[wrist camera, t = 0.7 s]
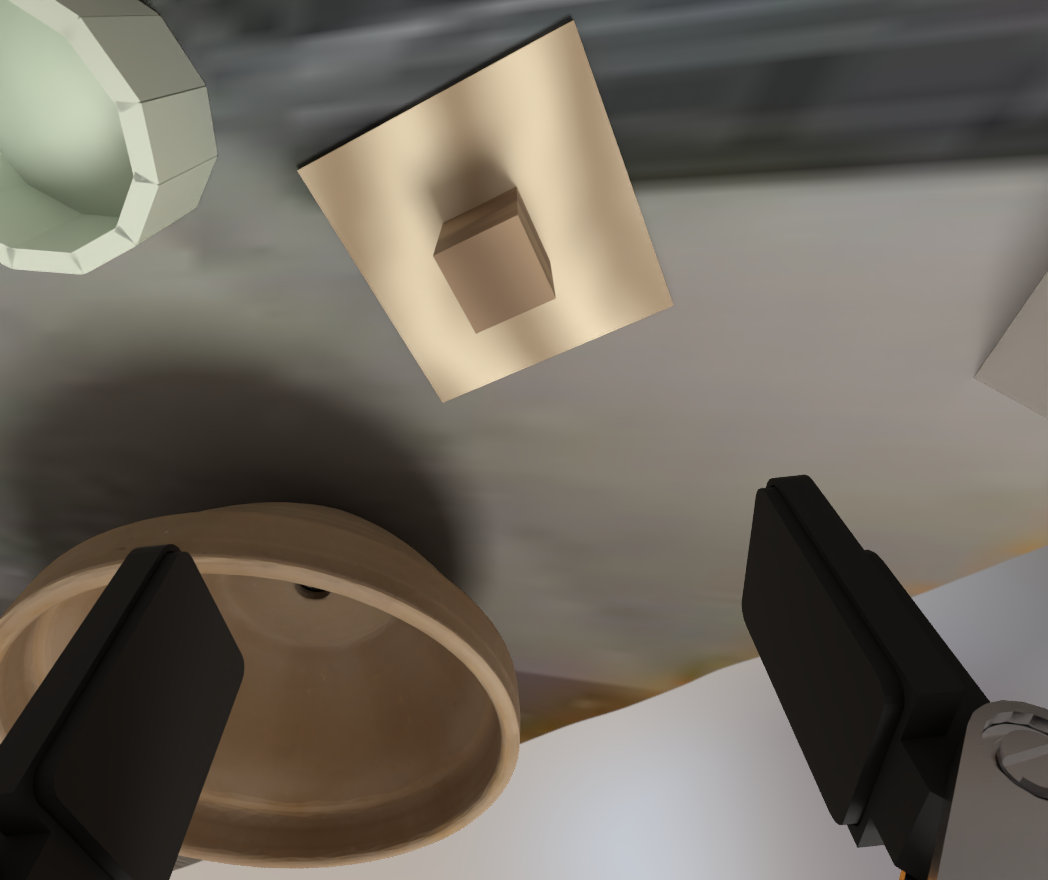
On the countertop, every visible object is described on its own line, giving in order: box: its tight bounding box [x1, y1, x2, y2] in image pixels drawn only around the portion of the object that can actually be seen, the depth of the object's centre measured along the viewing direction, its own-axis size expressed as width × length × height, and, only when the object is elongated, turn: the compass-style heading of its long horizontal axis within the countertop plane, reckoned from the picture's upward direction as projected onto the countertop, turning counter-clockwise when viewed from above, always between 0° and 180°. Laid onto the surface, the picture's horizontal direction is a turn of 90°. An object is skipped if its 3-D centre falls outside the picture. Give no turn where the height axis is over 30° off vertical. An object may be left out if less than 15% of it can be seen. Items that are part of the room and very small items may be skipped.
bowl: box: [0, 0, 218, 275], centre depth 26 cm, size 11×11×6 cm
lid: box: [298, 20, 674, 402], centre depth 30 cm, size 14×14×6 cm
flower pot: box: [0, 502, 520, 868], centre depth 40 cm, size 28×28×13 cm
